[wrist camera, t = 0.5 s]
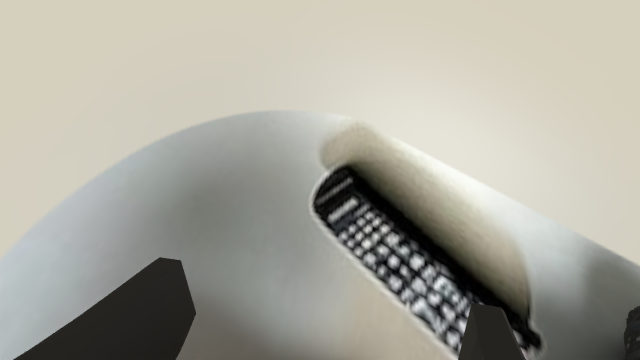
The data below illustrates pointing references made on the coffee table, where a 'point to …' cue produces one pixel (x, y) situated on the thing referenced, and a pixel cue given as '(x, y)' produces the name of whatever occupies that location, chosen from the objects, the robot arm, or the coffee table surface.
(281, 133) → the coffee table surface
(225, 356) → the coffee table surface
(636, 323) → the camera
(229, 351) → the coffee table surface
